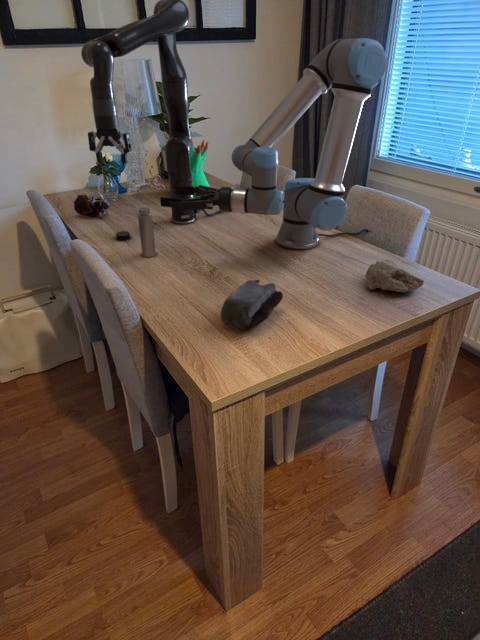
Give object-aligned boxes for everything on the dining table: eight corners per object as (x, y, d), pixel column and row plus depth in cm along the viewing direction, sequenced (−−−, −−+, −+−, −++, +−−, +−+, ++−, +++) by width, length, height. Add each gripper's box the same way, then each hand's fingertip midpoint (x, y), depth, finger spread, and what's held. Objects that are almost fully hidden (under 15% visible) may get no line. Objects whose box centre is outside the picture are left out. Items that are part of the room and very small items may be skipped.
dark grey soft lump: (254, 340, 110) (255, 313, 105) (215, 329, 114) (214, 302, 110) (284, 308, 123) (285, 283, 119) (248, 299, 128) (248, 274, 124)
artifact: (384, 303, 127) (425, 296, 132) (391, 281, 123) (434, 275, 127) (349, 272, 141) (388, 267, 145) (355, 251, 136) (395, 247, 141)
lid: (123, 235, 171) (122, 230, 170) (132, 237, 169) (132, 232, 168) (114, 239, 167) (113, 234, 166) (123, 241, 165) (122, 236, 164)
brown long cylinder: (148, 258, 152) (143, 211, 144) (140, 254, 155) (134, 209, 146) (158, 254, 155) (153, 208, 147) (150, 251, 158) (145, 205, 149)
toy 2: (167, 190, 223) (163, 137, 210) (207, 188, 227) (205, 135, 214) (172, 202, 206) (167, 145, 193) (214, 199, 210) (213, 143, 197)
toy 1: (101, 187, 180) (72, 186, 186) (93, 207, 178) (64, 205, 183) (117, 205, 191) (89, 203, 196) (109, 223, 188) (82, 221, 194)
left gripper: (79, 114, 143) (88, 166, 152) (121, 115, 141) (128, 167, 150) (90, 111, 149) (98, 161, 158) (130, 112, 147) (136, 163, 156)
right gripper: (223, 224, 130) (155, 219, 134) (241, 200, 151) (181, 196, 155) (223, 199, 126) (152, 194, 130) (241, 177, 147) (180, 174, 151)
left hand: (112, 164), depth 154 cm, fingers open, 8 cm apart
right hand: (168, 195), depth 142 cm, fingers open, 13 cm apart
